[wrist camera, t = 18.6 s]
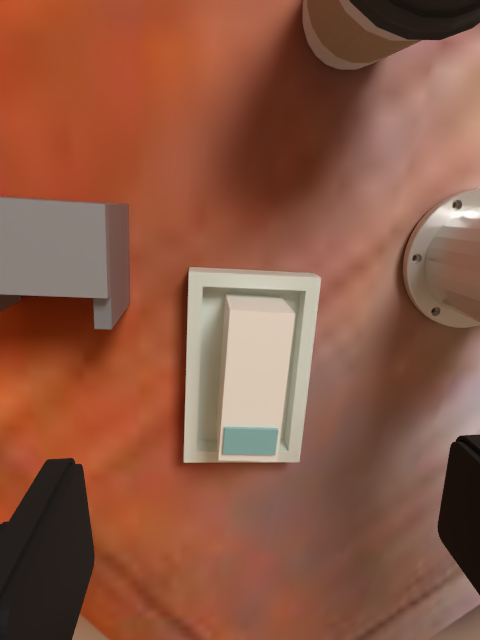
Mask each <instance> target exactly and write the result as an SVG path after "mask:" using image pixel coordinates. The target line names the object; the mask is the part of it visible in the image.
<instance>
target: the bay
mask: <svg viewBox="0 0 480 640" xmlns="http://www.w3.org/2000/svg"><path fill="white" fill-rule="evenodd" d="M21 295H30V296H56V297H82V298H93V306H94V329H112V328H113V327H114V326H115V324H116V323H117V321H118V320H119V319H120V317H121V316H122V315H123V313H124V312H125V310H126V309H127V308H128V306H129V305H130V276H129V204H117V203H101V202H85V201H69V200H53V199H37V198H21V197H6V196H0V311H2V310H4V309H6V308H8V307H10V306H12V305H14V304H16V303H17V302H19V301H21V300H22V299H21Z"/></svg>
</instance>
